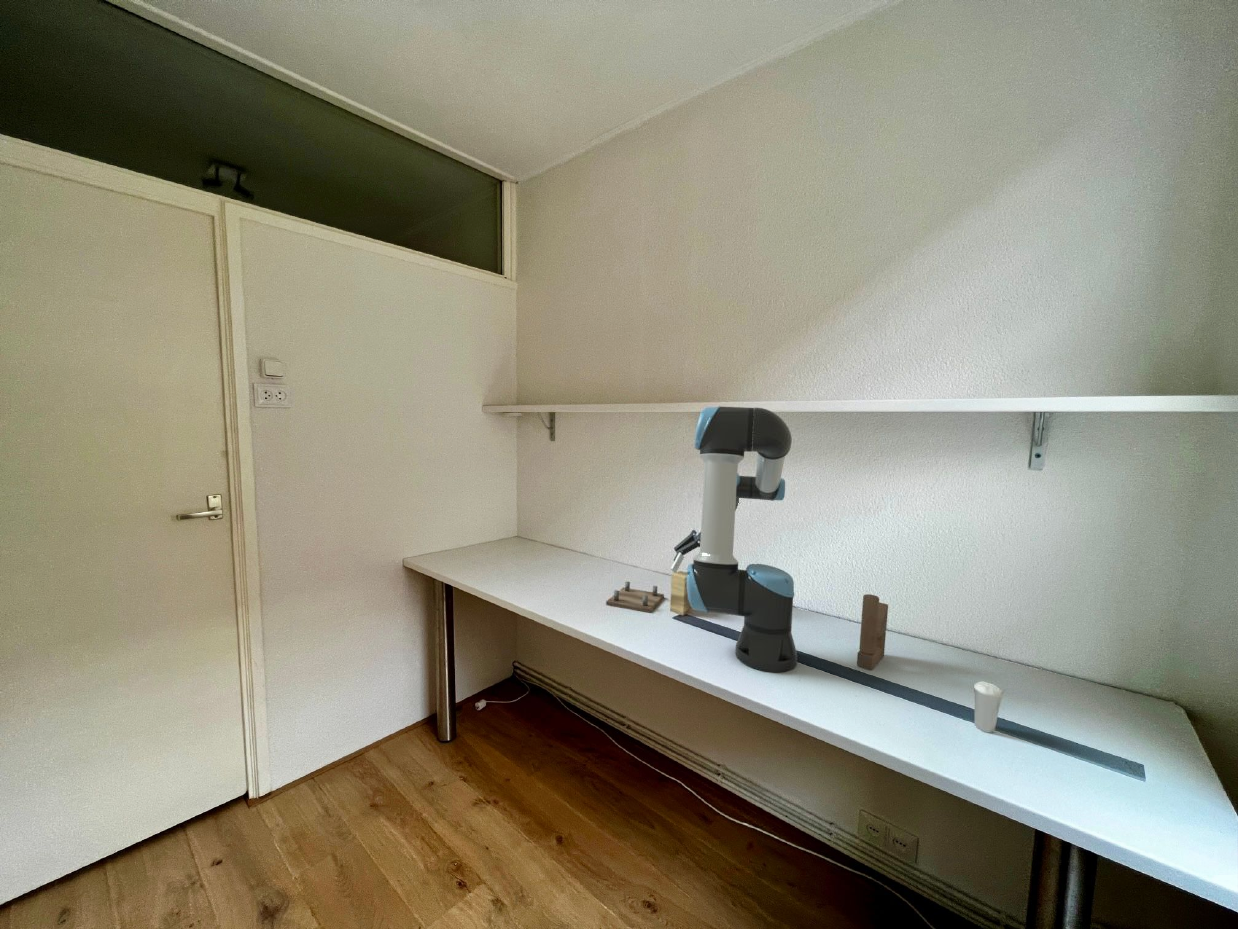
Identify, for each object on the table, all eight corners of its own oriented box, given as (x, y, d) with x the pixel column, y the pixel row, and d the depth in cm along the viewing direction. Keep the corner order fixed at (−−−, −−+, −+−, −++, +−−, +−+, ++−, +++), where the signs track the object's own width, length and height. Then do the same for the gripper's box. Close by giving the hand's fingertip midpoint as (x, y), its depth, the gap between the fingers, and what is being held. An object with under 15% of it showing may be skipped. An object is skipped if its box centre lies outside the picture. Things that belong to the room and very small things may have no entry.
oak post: (683, 615, 152) (684, 577, 151) (670, 611, 156) (671, 574, 155) (692, 611, 156) (693, 574, 155) (679, 606, 159) (680, 570, 158)
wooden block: (884, 657, 128) (889, 590, 127) (871, 671, 120) (877, 600, 119) (869, 652, 131) (874, 586, 129) (856, 666, 123) (861, 596, 121)
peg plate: (649, 612, 153) (650, 599, 153) (606, 604, 159) (606, 592, 159) (663, 597, 167) (664, 585, 167) (623, 590, 173) (623, 579, 172)
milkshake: (994, 740, 95) (999, 690, 94) (965, 724, 100) (969, 677, 99) (1008, 734, 97) (1013, 686, 96) (979, 719, 102) (983, 673, 101)
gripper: (753, 536, 163) (727, 591, 153) (690, 524, 179) (664, 573, 170) (746, 523, 158) (719, 578, 149) (682, 511, 175) (655, 561, 165)
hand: (690, 575), depth 159 cm, fingers open, 13 cm apart
